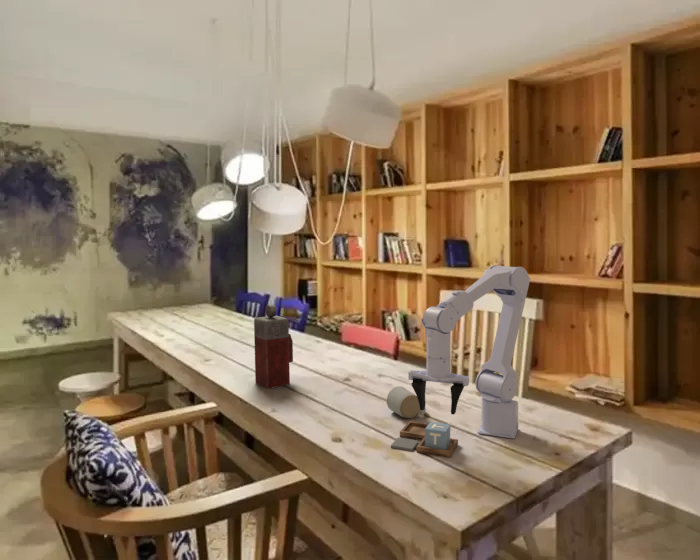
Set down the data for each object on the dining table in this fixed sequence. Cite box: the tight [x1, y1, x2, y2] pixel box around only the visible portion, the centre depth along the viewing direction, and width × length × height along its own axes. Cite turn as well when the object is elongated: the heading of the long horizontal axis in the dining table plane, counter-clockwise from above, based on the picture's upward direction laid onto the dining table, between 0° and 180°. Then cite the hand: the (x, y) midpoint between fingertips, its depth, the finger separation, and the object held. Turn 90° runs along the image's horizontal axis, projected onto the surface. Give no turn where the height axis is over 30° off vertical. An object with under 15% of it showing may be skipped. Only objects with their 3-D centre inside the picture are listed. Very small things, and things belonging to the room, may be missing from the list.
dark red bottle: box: [253, 304, 294, 390], centre depth 187 cm, size 9×11×28 cm
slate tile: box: [390, 436, 420, 452], centre depth 133 cm, size 6×6×1 cm
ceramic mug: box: [386, 385, 427, 420], centre depth 155 cm, size 11×8×8 cm
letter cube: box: [425, 421, 451, 450], centre depth 131 cm, size 5×5×5 cm
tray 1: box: [399, 420, 429, 441], centre depth 141 cm, size 8×8×1 cm
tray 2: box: [416, 437, 459, 458], centre depth 131 cm, size 8×8×1 cm
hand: (437, 411), depth 131 cm, fingers open, 7 cm apart
